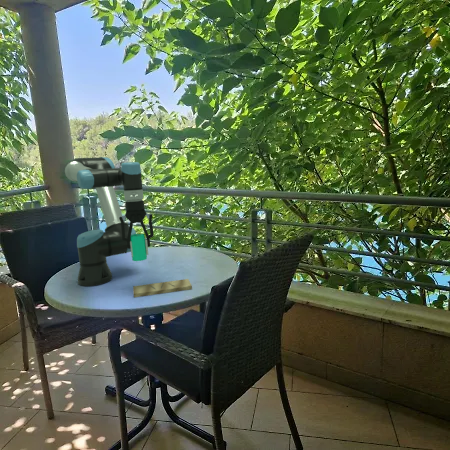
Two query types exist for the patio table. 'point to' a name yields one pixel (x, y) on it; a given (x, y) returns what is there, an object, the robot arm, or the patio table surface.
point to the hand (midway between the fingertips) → (139, 254)
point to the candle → (138, 247)
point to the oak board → (161, 288)
